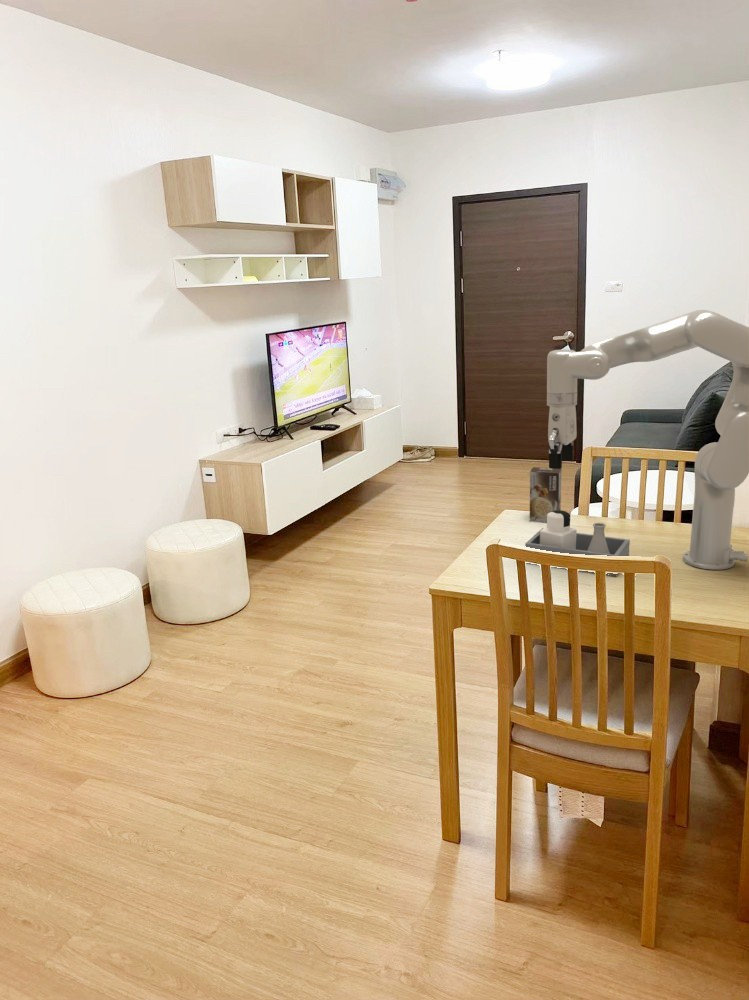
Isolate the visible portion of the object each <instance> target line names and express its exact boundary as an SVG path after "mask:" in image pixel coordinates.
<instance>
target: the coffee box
mask: <svg viewBox="0 0 749 1000" xmlns="http://www.w3.org/2000/svg"><path fill="white" fill-rule="evenodd" d="M561 506H562V468H561V469H552V468H549V467H539V466H538V467H537V466H535V467H534V466H533V467H532V468H531V469H530V472H529V522H535V523H536V522H537V523H538V522H540V523H547V514H548V513H549V512H551V511H555V510H561V511H562V509H561Z"/></svg>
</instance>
